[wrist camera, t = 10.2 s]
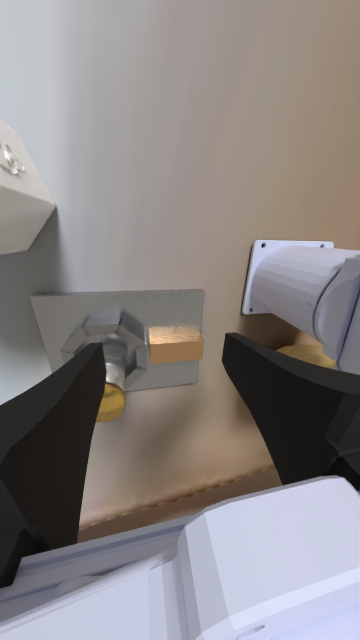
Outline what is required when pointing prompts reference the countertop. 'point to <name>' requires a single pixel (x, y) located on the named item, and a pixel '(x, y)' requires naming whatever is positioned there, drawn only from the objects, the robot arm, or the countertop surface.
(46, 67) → the countertop surface
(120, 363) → the gold-capped vial
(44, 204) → the jar
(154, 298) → the rosette plate
